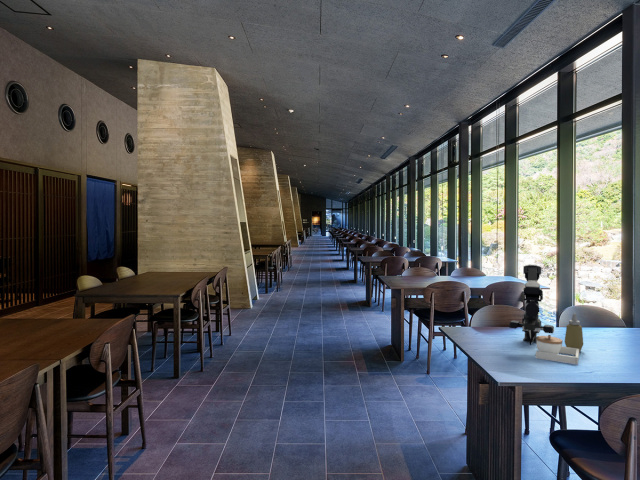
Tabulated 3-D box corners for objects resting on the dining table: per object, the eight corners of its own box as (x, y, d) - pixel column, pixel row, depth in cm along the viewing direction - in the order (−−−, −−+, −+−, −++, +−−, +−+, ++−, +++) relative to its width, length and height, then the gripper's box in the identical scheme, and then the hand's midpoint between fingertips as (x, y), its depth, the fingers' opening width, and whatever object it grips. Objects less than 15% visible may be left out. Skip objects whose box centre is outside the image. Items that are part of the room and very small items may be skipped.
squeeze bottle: (581, 348, 213) (582, 312, 213) (585, 353, 206) (586, 315, 205) (562, 347, 216) (563, 311, 215) (566, 351, 208) (567, 314, 208)
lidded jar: (560, 360, 194) (562, 339, 194) (534, 355, 199) (535, 335, 199) (562, 354, 203) (563, 334, 203) (536, 350, 209) (537, 331, 208)
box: (539, 349, 211) (539, 343, 211) (579, 355, 202) (579, 348, 202) (535, 358, 197) (535, 351, 197) (577, 364, 188) (577, 357, 188)
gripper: (507, 312, 203) (506, 345, 204) (552, 317, 193) (550, 352, 193) (511, 308, 213) (510, 340, 213) (554, 313, 202) (553, 346, 203)
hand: (530, 344), depth 205 cm, fingers closed
